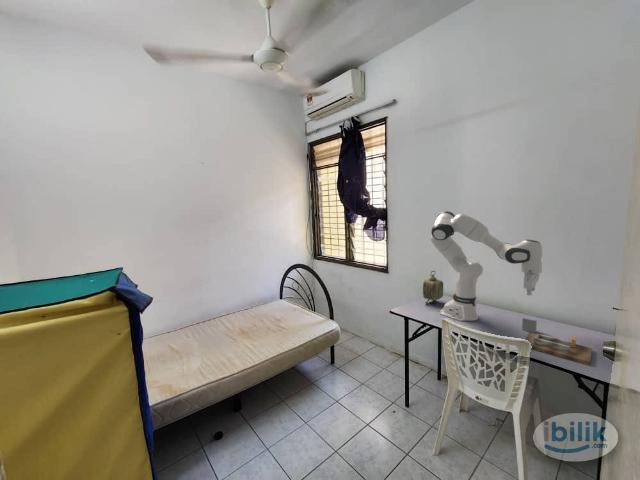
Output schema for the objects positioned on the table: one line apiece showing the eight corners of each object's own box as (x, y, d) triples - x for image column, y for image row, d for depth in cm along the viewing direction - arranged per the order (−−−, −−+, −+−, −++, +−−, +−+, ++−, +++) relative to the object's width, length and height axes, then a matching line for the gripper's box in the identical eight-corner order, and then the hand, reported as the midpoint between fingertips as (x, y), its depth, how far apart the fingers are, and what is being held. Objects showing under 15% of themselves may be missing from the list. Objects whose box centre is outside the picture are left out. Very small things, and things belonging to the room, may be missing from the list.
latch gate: (571, 346, 129) (571, 339, 128) (572, 342, 133) (572, 334, 132) (574, 347, 128) (575, 340, 127) (575, 342, 132) (576, 335, 132)
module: (522, 329, 152) (522, 318, 151) (523, 328, 154) (523, 316, 153) (535, 333, 147) (536, 321, 146) (536, 331, 149) (537, 319, 148)
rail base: (522, 346, 134) (523, 339, 134) (529, 335, 145) (529, 328, 144) (590, 365, 117) (590, 356, 116) (591, 350, 127) (592, 343, 127)
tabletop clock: (432, 299, 208) (432, 268, 205) (444, 301, 201) (444, 269, 198) (423, 304, 199) (422, 271, 196) (434, 307, 192) (434, 273, 189)
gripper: (535, 273, 137) (534, 299, 139) (541, 265, 151) (541, 289, 152) (520, 271, 142) (519, 296, 143) (528, 264, 155) (527, 287, 157)
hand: (531, 292), depth 148 cm, fingers open, 8 cm apart
